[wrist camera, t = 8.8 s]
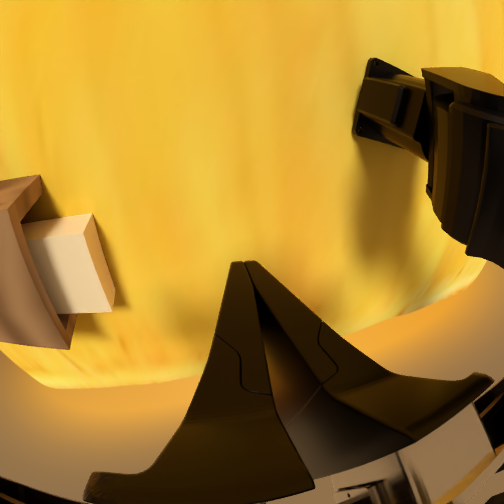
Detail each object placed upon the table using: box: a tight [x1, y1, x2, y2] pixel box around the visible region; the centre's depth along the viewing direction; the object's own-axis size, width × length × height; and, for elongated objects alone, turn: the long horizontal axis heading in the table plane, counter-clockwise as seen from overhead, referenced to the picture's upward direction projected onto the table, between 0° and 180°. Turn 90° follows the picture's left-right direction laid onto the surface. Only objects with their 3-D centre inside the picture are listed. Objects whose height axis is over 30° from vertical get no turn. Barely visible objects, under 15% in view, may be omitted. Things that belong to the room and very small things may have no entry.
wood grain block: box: [0, 175, 77, 350], centre depth 15 cm, size 10×14×5 cm
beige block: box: [21, 213, 116, 314], centre depth 18 cm, size 10×8×3 cm
